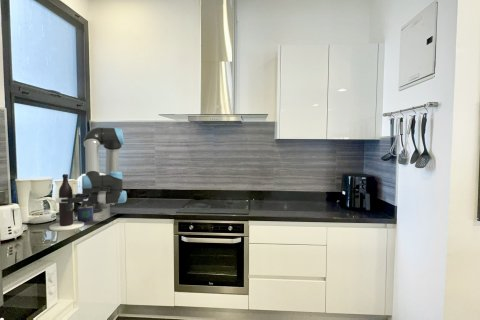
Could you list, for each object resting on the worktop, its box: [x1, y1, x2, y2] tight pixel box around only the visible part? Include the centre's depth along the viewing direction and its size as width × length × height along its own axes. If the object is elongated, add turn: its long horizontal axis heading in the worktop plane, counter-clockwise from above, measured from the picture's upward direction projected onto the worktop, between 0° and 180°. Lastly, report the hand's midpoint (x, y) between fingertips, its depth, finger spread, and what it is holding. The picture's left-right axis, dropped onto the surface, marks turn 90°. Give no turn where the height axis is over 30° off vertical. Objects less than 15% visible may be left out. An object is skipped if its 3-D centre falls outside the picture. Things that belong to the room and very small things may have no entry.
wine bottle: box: [58, 173, 74, 226], centre depth 180 cm, size 7×7×30 cm
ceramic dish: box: [48, 220, 85, 232], centre depth 181 cm, size 18×18×1 cm
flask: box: [76, 205, 94, 223], centre depth 194 cm, size 9×3×11 cm, turn 135°
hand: (59, 198), depth 179 cm, fingers open, 12 cm apart
